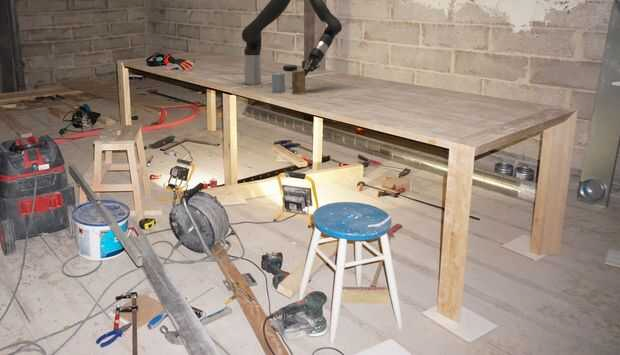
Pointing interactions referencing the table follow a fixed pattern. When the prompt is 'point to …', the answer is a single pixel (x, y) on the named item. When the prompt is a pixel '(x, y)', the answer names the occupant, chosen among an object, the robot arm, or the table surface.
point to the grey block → (278, 82)
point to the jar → (288, 74)
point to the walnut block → (298, 82)
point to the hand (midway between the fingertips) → (302, 76)
